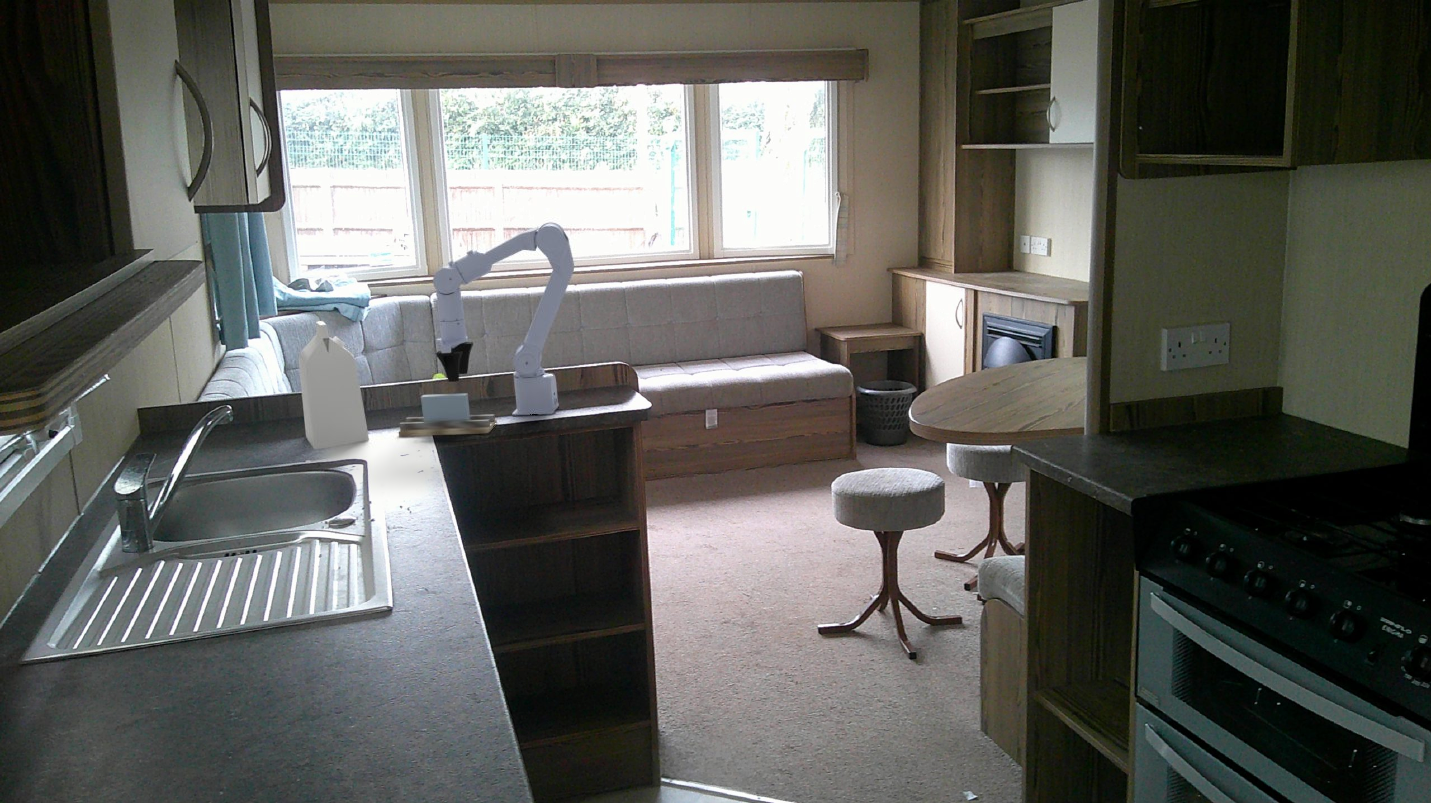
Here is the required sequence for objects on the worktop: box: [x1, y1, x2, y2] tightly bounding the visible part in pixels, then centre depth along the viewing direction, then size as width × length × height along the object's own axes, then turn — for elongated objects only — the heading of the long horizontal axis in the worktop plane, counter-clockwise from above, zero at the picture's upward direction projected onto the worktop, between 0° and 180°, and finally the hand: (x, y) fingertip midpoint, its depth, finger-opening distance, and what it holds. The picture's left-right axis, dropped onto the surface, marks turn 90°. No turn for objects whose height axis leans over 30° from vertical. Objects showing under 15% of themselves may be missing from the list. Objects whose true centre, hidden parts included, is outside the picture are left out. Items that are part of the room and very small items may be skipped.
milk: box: [298, 320, 370, 450], centre depth 250 cm, size 12×12×26 cm
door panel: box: [420, 392, 471, 422], centre depth 254 cm, size 10×2×7 cm, turn 86°
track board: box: [397, 414, 498, 437], centre depth 255 cm, size 20×8×2 cm, turn 86°
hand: (458, 377), depth 264 cm, fingers open, 7 cm apart
